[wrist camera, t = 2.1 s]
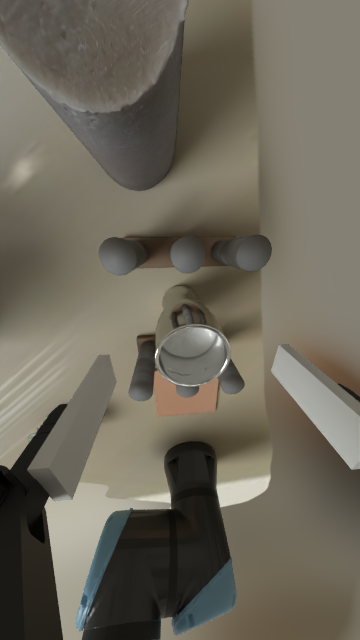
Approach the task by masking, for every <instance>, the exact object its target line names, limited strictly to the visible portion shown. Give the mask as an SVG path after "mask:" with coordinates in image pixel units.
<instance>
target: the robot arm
mask: <svg viewBox="0 0 360 640" xmlns="http://www.w3.org/2000/svg"><path fill="white" fill-rule="evenodd" d="M271 372H272V373H273V374H274V376H275V377H276V378H277V379H278V380H279V382H280V383H281V384H282V385H283V386H284V388H285V389H286V390H287V391H288V393H289V394H290V395H291V396H292V397H293V399H294V400H295V401H296V402H297V403H298V405H299V406H300V407H301V408H302V410H303V411H304V412H305V413H306V414H307V416H308V417H309V418H310V419H311V421H312V422H313V423H314V424H315V425H316V426H317V428H318V429H319V430H320V431H321V433H322V434H323V435H324V436H325V438H326V439H327V440H328V441H329V442H330V444H331V445H332V446H333V447H334V448H335V450H336V451H337V452H338V453H339V455H340V456H341V457H342V458H343V459H344V461H345V462H346V463H347V464H348V465H349V467H350V468H351V469H360V397H359V396H358V395H356V394H355V393H354V392H353V391H351V390H350V389H348V388H346V387H344V386H343V385H341V384H336V383H335V382H334V381H333V380H331V379H330V378H329V377H328V376H327V375H325V374H324V373H323V372H322V371H321V370H319V369H318V368H317V367H316V366H314V365H313V364H312V363H311V362H309V361H308V360H307V359H306V358H305V357H303V356H302V355H301V354H300V353H298V352H297V351H296V350H295V349H294V348H292V347H291V346H290V345H289V344H284V345H279V347H278V350H277V353H276V357H275V360H274V363H273V367H272V370H271ZM115 384H116V378H115V374H114V371H113V367H112V363H111V359H110V355H99V356H98V357H97V359H96V360H95V362H94V364H93V365H92V367H91V368H90V370H89V372H88V373H87V375H86V376H85V378H84V380H83V381H82V383H81V384H80V386H79V388H78V389H77V391H76V392H75V394H74V396H73V397H72V399H71V400H70V402H69V403H68V404H61V405H59V406H58V407H56V408H55V409H54V410H53V411H52V412H51V413H50V414H49V415H48V417H47V418H46V420H45V421H44V422H43V424H42V426H41V427H40V428H39V430H38V431H37V432H36V435H34V437H33V438H32V440H31V441H30V442H29V444H28V445H27V447H26V448H25V450H24V451H23V452H22V454H21V455H20V457H19V458H18V460H17V461H16V462H15V464H14V465H13V467H12V468H11V470H9V469H8V468H7V467H5V466H2V465H1V466H0V640H63V635H62V628H61V621H60V614H59V606H58V598H57V591H56V583H55V576H54V568H53V561H52V553H51V546H50V539H49V531H48V524H47V516H46V510H45V508H44V506H45V504H46V501H47V500H48V497H49V496H50V497H51V498H52V499H53V501H61V500H72V499H73V496H74V494H75V491H76V488H77V485H78V483H79V480H80V478H81V475H82V472H83V470H84V467H85V464H86V462H87V459H88V456H89V454H90V451H91V448H92V446H93V443H94V440H95V438H96V435H97V432H98V430H99V427H100V424H101V422H102V419H103V416H104V414H105V411H106V408H107V406H108V403H109V400H110V398H111V395H112V392H113V390H114V387H115ZM164 469H165V473H166V477H167V482H168V486H169V490H170V494H171V509H157V510H156V509H155V510H133V508H131V509H130V510H123V511H115V512H113V513H112V514H111V515H110V516H109V518H108V519H107V521H106V523H105V526H104V528H103V531H102V534H101V537H100V540H99V543H98V546H97V549H96V552H95V555H94V559H93V561H92V565H91V568H90V571H89V575H88V578H87V581H86V585H85V588H84V593H83V596H82V600H81V603H80V606H79V610H78V614H77V618H76V628H78V629H79V631H82V630H83V628H84V632H83V637H82V640H160V627H161V618H166V617H173V619H172V626H173V631H174V634H175V635H179V634H182V633H184V632H186V631H189V630H191V629H193V628H195V627H198V626H200V625H202V624H204V623H207V622H209V621H211V620H213V619H215V618H217V617H220V616H222V615H224V614H226V613H228V612H230V611H231V610H232V609H233V608H234V606H235V604H236V597H237V592H236V586H235V579H234V574H233V568H232V558H231V557H230V552H229V547H228V542H227V537H226V533H225V528H224V523H223V519H222V514H221V509H220V504H219V500H218V495H217V489H216V485H217V459H216V455H215V451H214V449H213V448H212V447H211V446H209V445H207V444H204V443H199V442H189V443H184V444H180V445H177V446H175V447H173V448H172V449H170V450H169V451H168V452H167V453H166V455H165V458H164Z"/></svg>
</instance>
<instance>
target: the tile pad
mask: <svg viewBox="0 0 360 640" xmlns="http://www.w3.org/2000/svg"><path fill="white" fill-rule="evenodd" d="M218 382H219V380H218V378H216V379H215V380H213V381H211V382H209V383H207V384H204V385H201V386H199V391H198V393H197V394H196V395H195V396H193V397H189V398H184V397H181V396H179V395H178V394H177V392H176V385H175V384H173V383H171V382H169V381H167V380H166V379H165V378H164V377H163V376H162V375H161V374H160V373H159V371H158V370H157V369H155V375H154V391H155V400H156V408H157V416H158V417H161V416H173V415H185V414H197V413H209V412H215V409H216V400H217V391H218Z"/></svg>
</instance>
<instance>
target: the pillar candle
mask: <svg viewBox="0 0 360 640" xmlns="http://www.w3.org/2000/svg"><path fill="white" fill-rule="evenodd" d="M187 6H188V0H0V44H1V45H2V47H3V48H4V49H5V51H6V52H7V53H8V55H9V56H10V57H11V58H12V60H13V61H14V62H15V63H16V65H17V66H18V67H19V68H20V69H21V70H22V72H23V73H24V74H25V75H26V77H27V78H28V79H29V80H30V82H31V83H32V84H33V85H34V86H35V88H36V89H37V90H38V91H39V92H40V94H41V95H42V96H43V97H44V98H45V100H46V101H47V102H48V103H49V104H50V106H51V107H52V108H53V109H54V110H55V111H56V113H57V114H58V115H59V116H60V117H61V119H62V120H63V121H64V122H65V124H66V125H67V126H68V127H69V128H70V130H71V131H72V132H73V133H74V134H75V135H76V137H77V138H78V139H79V140H80V141H81V143H82V144H83V145H84V146H85V147H86V149H87V150H88V151H89V152H90V153H91V155H92V156H93V157H94V158H95V159H96V161H97V162H98V163H99V164H100V165H101V167H102V168H103V169H104V170H105V172H106V173H107V174H108V175H109V176H110V177H111V178H112V179H113V180H114V181H115V182H117V183H118V184H120V185H121V186H123V187H125V188H128V189H131V190H136V191H141V190H147V189H150V188H152V187H153V186H155V185H156V184H157V183H159V182H160V181H161V180H162V179H163V178H164V176H165V175H166V174H167V172H168V170H169V168H170V166H171V163H172V160H173V157H174V149H175V143H176V132H177V120H178V109H179V96H180V77H181V64H182V48H183V33H184V21H185V12H186V9H187Z"/></svg>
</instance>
